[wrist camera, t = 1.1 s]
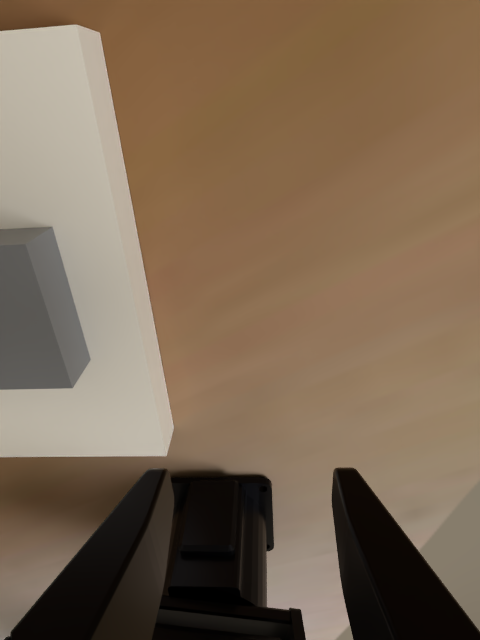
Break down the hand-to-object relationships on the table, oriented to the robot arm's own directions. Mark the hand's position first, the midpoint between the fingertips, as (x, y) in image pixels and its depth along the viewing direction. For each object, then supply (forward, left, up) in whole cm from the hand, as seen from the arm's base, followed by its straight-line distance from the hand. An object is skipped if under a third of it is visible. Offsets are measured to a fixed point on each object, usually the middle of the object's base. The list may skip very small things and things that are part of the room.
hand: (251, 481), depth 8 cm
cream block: (0, +11, -11) cm, 16 cm away
